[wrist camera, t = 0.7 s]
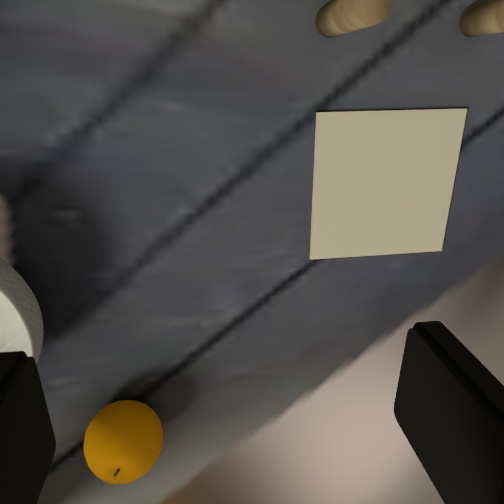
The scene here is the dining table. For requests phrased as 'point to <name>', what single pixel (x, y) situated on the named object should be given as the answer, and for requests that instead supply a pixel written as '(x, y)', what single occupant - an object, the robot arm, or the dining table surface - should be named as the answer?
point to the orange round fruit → (123, 441)
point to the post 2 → (483, 18)
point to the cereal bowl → (19, 315)
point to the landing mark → (383, 181)
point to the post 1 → (351, 15)
